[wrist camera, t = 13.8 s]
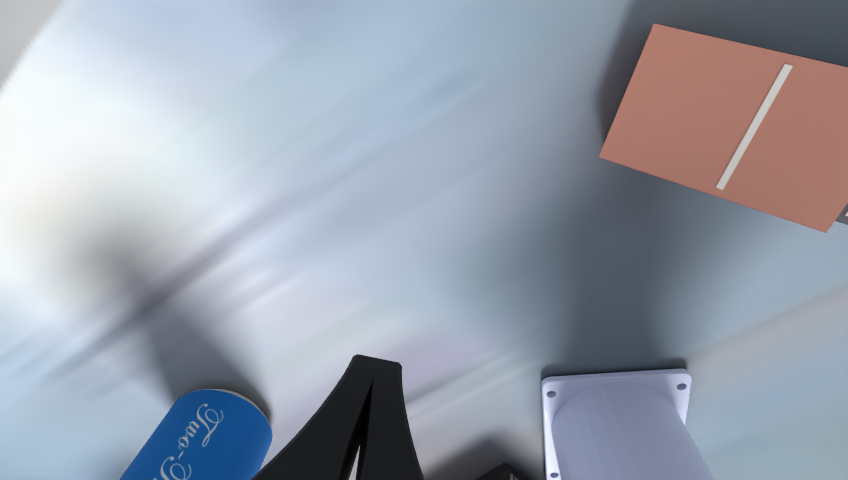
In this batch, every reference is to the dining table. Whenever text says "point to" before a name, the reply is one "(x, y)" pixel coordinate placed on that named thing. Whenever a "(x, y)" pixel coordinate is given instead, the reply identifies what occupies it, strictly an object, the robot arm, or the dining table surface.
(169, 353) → the dining table surface
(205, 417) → the beverage can
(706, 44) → the salmon end domino
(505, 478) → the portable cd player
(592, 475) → the robot arm
